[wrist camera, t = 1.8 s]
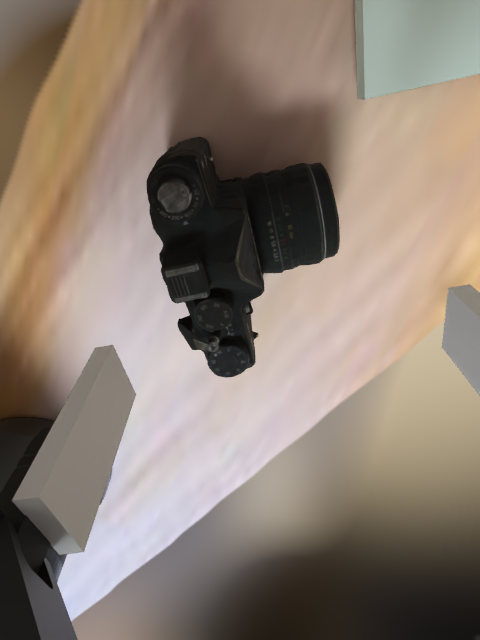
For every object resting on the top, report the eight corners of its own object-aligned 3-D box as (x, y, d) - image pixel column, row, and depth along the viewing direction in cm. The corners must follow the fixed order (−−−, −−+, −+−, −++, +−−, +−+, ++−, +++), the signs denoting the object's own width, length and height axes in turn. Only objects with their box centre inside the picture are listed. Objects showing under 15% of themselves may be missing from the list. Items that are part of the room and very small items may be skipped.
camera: (328, 295, 31) (363, 371, 23) (205, 317, 32) (195, 399, 24) (311, 108, 24) (352, 120, 16) (153, 145, 25) (112, 174, 17)
